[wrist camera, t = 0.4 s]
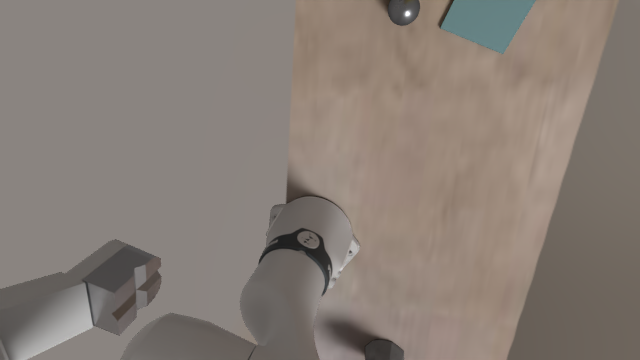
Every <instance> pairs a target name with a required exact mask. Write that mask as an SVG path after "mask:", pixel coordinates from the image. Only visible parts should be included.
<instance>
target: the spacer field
mask: <svg viewBox="0 0 640 360" xmlns="http://www.w3.org/2000/svg"><path fill="white" fill-rule="evenodd" d="M419 10H420V3H419V0H390V3H389V6H388V14H389V17H390V19H391V21H392V22H393V23H395V24H397V25H401V26H403V25H408V24H410V23H411V22H413V21H414V20H415V19H416V17H417V16H418V13H419Z"/></svg>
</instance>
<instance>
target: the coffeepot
mask: <svg viewBox="0 0 640 360" xmlns="http://www.w3.org/2000/svg"><path fill="white" fill-rule="evenodd" d="M365 360H404V352H403V350H402V349H401V348H400V347H399V346H397V345H396V344H394V343H392V342H390V341H386V340H374V341H372V342H370V343H369V344H368V345H367V346H365Z"/></svg>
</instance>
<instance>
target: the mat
mask: <svg viewBox="0 0 640 360" xmlns="http://www.w3.org/2000/svg"><path fill="white" fill-rule="evenodd" d="M535 1H536V0H454V1H453V3H452V5H451V7H450V9H449V11H448V13H447V15H446V17H445V19H444V21H443V23H442V25H441V27H440V28H441V29H443V30H446V31H448V32H451V33H453V34H456V35H458V36H460V37H463V38H465V39H468V40H470V41H473V42H475V43H477V44H480V45H482V46H485V47H487V48H490V49H492V50H494V51H497V52H499V53H502V54H503V53H504V52H505V50H506V48H507V47H508V45H509V43H510V42H511V40H512V39H513V37H514V35H515V34H516V32H517V30H518V29H519V27H520V25H521V24H522V22H523V20H524V19H525V17H526V16H527V14H528V12H529V11H530V9H531V7H532V6H533V4H534V2H535Z"/></svg>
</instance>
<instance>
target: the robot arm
mask: <svg viewBox="0 0 640 360" xmlns="http://www.w3.org/2000/svg"><path fill="white" fill-rule="evenodd" d="M275 215H276V216H275ZM266 236H267V244H266V245H267V246H266V248H265V250H264V251H263V253H262V256H261V258H260V260H259V264H258V267H257V268H256V270H255V271H254V273H253V274H252V276H251V277H250V279H249V281H248V282H247V284H246V285H245V287H244V289H243V291H242V294H241V298H240V309H241V313H242V317H243V320H244V323H245V325H246V327H247V328H248V330H249V331H250V332H251V334H252V335H253V337H254V338H255V340H256V341H257V343H258V345H257V346H256V345H255V344H253V343H251V342H249V341H247V340H245V339H243V338H241V337H239V336H237V335H235V334H233V333H231V332H229V331H227V330H225V329H223V328H221V327H219V326H217V325H215V324H212V323H210V322H208V321H205V320H201V319H197V318H193V317H188V316H184V315H179V314H174V313H169V314H166V315H163V316H162V317H159V318H157V319H155V320H154V321H152V322H150V323H149V324H147V325H146V326H145V327H144V328H142V329H141V330H140V331H139V332H138V333H137V335H135V337H134V338H133V339H132V340H131V342H130V343H129V344H128V346H127V348H126V350H125V351H124V353H123V355H122V358H121V360H320V359H319V356H318V353H317V349H316V345H315V340H314V323H315V318H316V314H317V310H318V306H319V302H320V299H321V297H322V296H323V295H324V293H325V292H326V290H327V288H329V289H331V288H332V287H333V285H334V284H335V282H336V279H335V278H338V277H339V276H340V274H341V272H340V271H342V269H343V268H344V267H345V265H346V264H347V263H348V262H349V261H350V260H351V259H352V258H353V257H354V256H355V255H356V254H357V253H358V251H359V249H360V245H359V243H358V241H357V240H356V238H355V237H354V236H353V234H352V230H351V226H350V223H349V220H348V219H347V217H346V215H345V214H344V213H343V211H342V210H341V209H340V208H338V207H337V206H336V205H335V204H333V203H331V202H330V201H328V200H325V199H322V198H319V197H311V196H308V197H301V198H298V199H295V200H293V201H291V202H290V203H287V204H280V205H275V206H273V208H272V209H271V214H270V224H269V229H268V231H267V233H266ZM350 250H351V252H350ZM160 267H161V259H160V258H159V257H156V256H154V255H152V254H149V253H147V252H145V251H142V250H140V249H138V248H135V247H133V246H131V245H128V244H126V243H124V242H121V241H119V240H116V239H115V240H112V241H109V242H108V243H106V244H105V245H103V246H102V247H101V248H99V249H98V250H97V251H95V252H94V253H93V254H91V255H90V256H89V257H87V258H86V259H84V260H83V261H82V262H80V263H79V264H78V265H76V266H75V267H73V268H72V269H71V270H69V271H68V272H67V273H65V274H64V273H62V272H59V273H56V274H52V275H48V276H45V277H42V278H38V279H34V280H31V281H27V282H24V283H20V284H17V285H13V286H10V287H6V288H3V289H0V360H26V359H29V358H31V357H33V356H35V355H37V354H39V353H41V352H43V351H45V350H47V349H49V348H51V347H53V346H55V345H58V344H59V343H62V342H64V341H66V340H68V339H70V338H72V337H74V336H76V335H78V334H80V333H82V332H84V331H86V330H88V329H90V328H92V327H93V325H94V326H96V327H99V328H101V329H104V330H106V331H109V332H111V333H114V334H116V335H120V334H121V333H122V332H123V331H124V330H125V329H126V328H127V327H128V326H129V325H130V324H131V323H132V322H133V321H134V320H135V318H136V317H137V310H138V309H140V308H143V307H145V306H148V304H149V303H150V302H151V301H152V300H153V299H154V298H155V296H156V294H157V292H158V291H159V289H160V285H161V275H160V274H159V272H158V269H159V268H160ZM334 277H335V278H334Z"/></svg>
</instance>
